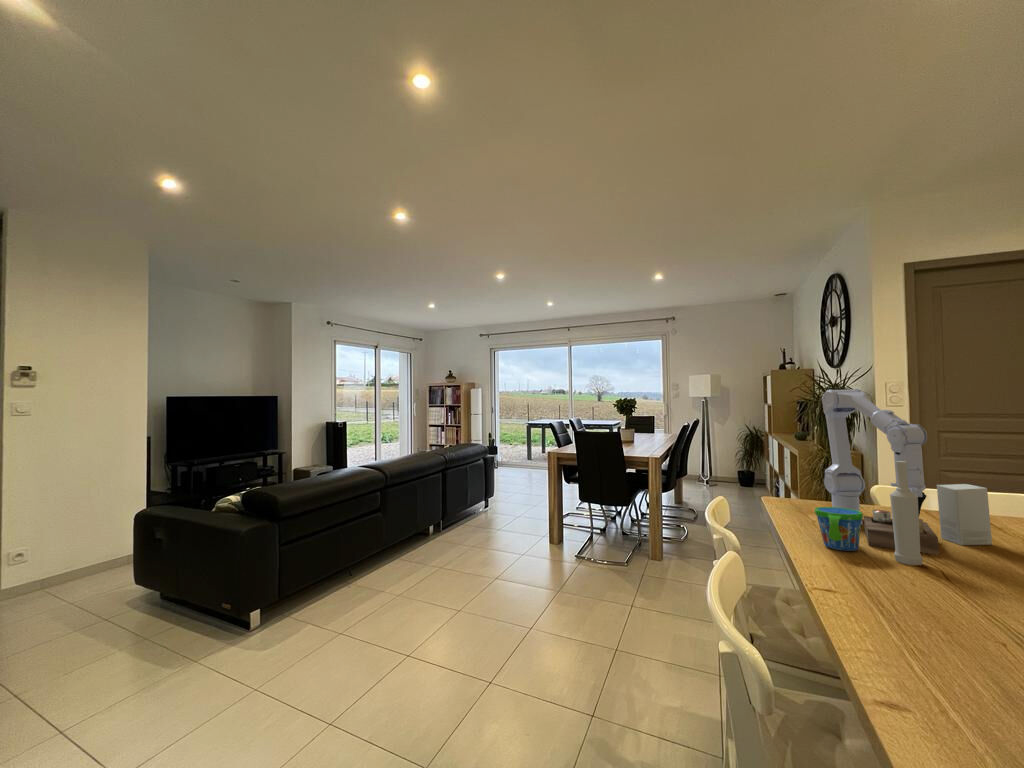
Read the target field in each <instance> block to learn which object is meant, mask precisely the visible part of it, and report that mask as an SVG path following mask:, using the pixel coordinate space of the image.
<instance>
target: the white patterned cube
mask: <svg viewBox="0 0 1024 768" xmlns="http://www.w3.org/2000/svg"><path fill="white" fill-rule="evenodd" d="M872 517H873V523H881V524H890V525H892V524H891V519H892V511H889V510H886V509H885V510H884V509H873V510H872Z"/></svg>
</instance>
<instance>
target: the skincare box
mask: <svg viewBox="0 0 1024 768" xmlns="http://www.w3.org/2000/svg"><path fill="white" fill-rule="evenodd" d="M936 489H937V490H936V493H937V503H938V504H937V505H938V515H939V518H938V519H939V527H940V538H941V539H942V540H945V541H947V542H951V543H954V544H957V545H959V546H981V545H982V546H987V545H989V546H990V545H991V546H992V545H993V540H992V539H993V537H992V529H991V518H990V515H991V514H990V507H989V506H990V505H989V493H988V488H987V487H983V486H980V485H979V486H978V485H973V484H967V483H956V484H955V483H953V484H936Z"/></svg>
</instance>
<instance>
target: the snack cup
mask: <svg viewBox="0 0 1024 768" xmlns="http://www.w3.org/2000/svg"><path fill="white" fill-rule="evenodd" d="M814 514H815V515H816V518H817V522H818V525H819V530H820V533H821V537H822V541H823V544H824V546H825V547H826V548H827V547H828V548H830V549H832V550H833V549H834V550H838V551H844V552H845V551H846V552H848V551H849V552H851V551H852V552H854V551H857V550H858V549H859V547H860V537H861V526H862V525H861V520H862V521H863V519H864V517H863V516H864V515H863V512H862V511H857V510H853V509H847V508H837V507H832V506H819V507H815V508H814Z"/></svg>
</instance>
